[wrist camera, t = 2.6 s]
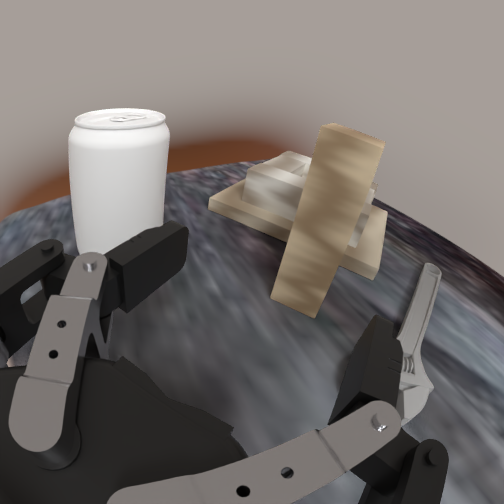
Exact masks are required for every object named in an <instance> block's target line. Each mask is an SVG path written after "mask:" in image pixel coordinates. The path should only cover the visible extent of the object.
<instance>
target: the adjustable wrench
mask: <svg viewBox="0 0 504 504" xmlns="http://www.w3.org/2000/svg"><path fill="white" fill-rule="evenodd" d="M441 275H442V272H441V271H440V269H439V268H438V267H437V266H435V265H433V264H431V263H426V264H425V265H424V267H423V269H422V271H421V274H420V277H419V280H418V283H417V286H416V288H415V291H414V294H413V297H412V300H411V302H410V305H409V308H408V310H407V313H406V315H405V318H404V320H403V323H402V325H401V328H400V330H399V333H398V335H397V337H396V339H398V340H400V342H401V346H402V349H403V352H404V353H403V362H402V371H401V374H400V375H401V378H400V385H399V392H398V398H397V404H396V410H397V412H398V413H399V415H400V418H401V426H403V425H404V424H406V423H407V422H408V421H410V420H411V419H412V418H413V417H414V416H416V415H417V414H418V413H419V412H420V411H421V410H422V408H423V407H424V405H425V404H426V401H427V398H428V394H429V393H430V392H431V391H432V390H433V389H434V387H433V384H432V383H431V382H430V381H429V379H428V377H427V375H426V373H425V370H424V367H423V364H422V361H421V356H420V348H421V343H422V340H423V338H424V335H425V332H426V328H427V325H428V322H429V319H430V316H431V312H432V309H433V306H434V302H435V298H436V295H437V291H438V287H439V283H440V279H441Z"/></svg>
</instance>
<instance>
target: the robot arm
mask: <svg viewBox="0 0 504 504" xmlns="http://www.w3.org/2000/svg"><path fill="white" fill-rule="evenodd" d="M188 234H189V230H188V228H187V227H185V226H183V225H181V224H179V223H177V222H174V221H169V222H167V223H165V224H164V225H162V226H160V227H154V228H150V229H146V230H144V231H142V232H140V233H139V234H137V235H136V236H134V237H132V238H130V239H129V240H127V241H125V242H123V243H122V244H120V245H118V246H117V247H115V248H113V249H112V250H110V251H108V252H107V253H105V254H101V253H97V252H87V253H83V254H81V255H79V256H77V257H74V256H71V255H68V254H65V253H64V249H63V244H62V243H61V242H60V241H58V240H54V239H49V240H44V241H42V242H40V243H38V244H36V245H35V246H33V247H32V248H30V249H28V250H27V251H25V252H24V253H22V254H20V255H19V256H17V257H16V258H14V259H13V260H11V261H10V262H8V263H7V264H5V265H4V266H2V267H1V268H0V504H291V503H293V502H295V501H297V500H299V499H301V498H303V497H304V496H306V495H308V494H310V493H312V492H314V491H316V490H317V489H319V488H321V487H323V486H325V485H326V484H328V483H330V482H331V481H333V480H335V479H336V478H338V477H340V476H341V475H343V474H344V473H346V472H347V471H348V470H350V471H351V472H353V473H354V474H355V475H357V476H358V477H359V478H361V479H362V480H363V481H365V482H366V486H365V488H364V491H363V493H362V496H361V498H360V500H359V503H358V504H440V501H441V497H442V493H443V488H444V484H445V479H446V474H447V469H448V462H449V457H448V453H447V450H446V448H445V447H444V445H443V444H442V443H440V442H439V441H437V440H434V439H427V440H424V441H423V442H421V443H419V442H418V441H417V440H415V439H414V438H413V437H411V436H410V435H409V434H407V433H406V432H405V431H404V430H403V429H402V428H401V418H400V415H399V413H398V412H397V410H396V404H397V398H398V392H399V385H400V378H401V375H400V374H401V371H402V362H403V353H404V352H403V349H402V346H401V342H400V340H398V339H396V338H393V337H392V335H393V327H394V323H393V322H392V321H389V320H387V319H385V318H383V317H381V316H378V315H375V316H374V317H373V319H372V320H371V322H370V323H369V325H368V327H367V328H366V330H365V331H364V333H363V334H362V336H361V337H360V339H359V340H358V342H357V344H356V345H355V347H354V349H353V352H352V354H351V357H350V360H349V364H348V367H347V370H346V373H345V376H344V379H343V382H342V385H341V388H340V391H339V394H338V397H337V400H336V403H335V406H334V408H333V411H332V414H331V417H330V419H329V422H328V424H327V425H329V426H328V427H326V428H324V429H322V430H317V429H315V430H312V431H310V432H307V433H305V434H303V435H301V436H299V437H297V438H294V439H292V440H290V441H288V442H285V443H283V444H281V445H278V446H276V447H274V448H271V449H269V450H266V451H264V452H261V453H259V454H256V455H254V456H251V457H248V456H247V454H246V452H245V451H244V449H243V448H242V446H241V445H240V444H239V443H238V442H237V441H236V440H235V439H234V438H233V437H232V436H231V432H232V430H233V428H234V427H232V426H230V425H228V424H226V423H225V422H223V421H221V420H219V419H217V418H216V417H214V416H212V415H210V414H209V413H207V412H205V411H203V410H200V409H197V408H194V407H191V406H188V405H185V404H183V403H180V402H177V401H174V400H171V399H169V398H168V397H167V396H166V395H165V394H164V393H163V392H162V391H161V390H160V389H159V388H158V387H157V385H156V384H155V383H154V382H153V381H152V380H151V379H150V377H149V376H148V375H147V374H146V373H145V372H143V371H142V370H140V369H139V368H138V367H136V366H135V365H134V364H132V363H131V362H130V361H128V360H127V359H126V358H124V357H123V356H122V357H121V358H120V359H119V360H118V361H117V362H114V361H111V360H109V344H110V337H111V331H112V325H113V319H114V310H115V309H116V308H117V307H119V308H120V309H122V310H123V311H125V312H126V313H128V312H129V311H131V310H132V309H133V308H134V307H135V306H137V305H138V304H139V303H140V302H142V301H143V300H144V299H145V298H146V297H148V296H149V295H150V294H151V293H153V292H154V291H155V290H156V289H158V288H159V287H160V286H161V285H163V284H164V283H165V282H166V281H168V280H169V279H170V278H171V277H173V276H174V275H175V274H176V273H178V272H179V271H180V270H181V269H182V267H183V266H184V264H185V261H186V254H187V244H188ZM39 280H40V282H41V285H42V290H41V291H39V292H38V293H37V294H35V295H34V296H33V297H31V298H30V299H29V300H27V301H26V302H25V303H24V304H21V301H20V298H21V295H22V293H23V292H24V291H25V290H26V289H28V288H29V287H30V286H32V285H33V284H35V283H36V282H37V281H39ZM35 335H36V337H35V340H34V344H33V347H32V350H31V353H30V357H29V360H28V364H27V365H26V366H16V367H8V365H7V364H6V363H7V361H8V359H9V358H10V357H11V356H12V355H13V354H14V353H15V352H16V351H18V350H19V349H20V348H21V347H22V346H23V345H24V344H25V343H27V342H28V341H29V340H30V339H31V338H32V337H34V336H35Z"/></svg>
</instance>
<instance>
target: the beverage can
mask: <svg viewBox="0 0 504 504" xmlns="http://www.w3.org/2000/svg"><path fill="white" fill-rule="evenodd" d="M165 119H166V118H165V115H164V114H162V113H160V112H156V111H152V110H145V109H132V108H119V109H105V110H98V111H92V112H88V113H85V114H82V115H79V116H78V117H76V118H75V126H74V127H73V129H72V130H71V132H70V134H69V139H68V147H69V174H70V188H71V200H72V210H73V219H74V227H75V235H76V242H77V248H78V251H79V254H80V255H81V254H83V253H87V252H97V253H101V254H105V253H107V252H108V251H110V250H112V249H113V248H115V247H117V246H118V245H120V244H122V243H123V242H125V241H127V240H129V239H130V238H132V237H134V236H136V235H137V234H139V233H140V232H142V231H144V230H146V229H150V228H154V227H160V226H162V225H163V214H164V197H165V183H166V170H167V159H168V149H169V138H170V133H169V129H168V127H167V125H166V124H165V122H164V121H165Z"/></svg>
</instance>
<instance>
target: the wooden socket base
mask: <svg viewBox="0 0 504 504" xmlns="http://www.w3.org/2000/svg"><path fill="white" fill-rule="evenodd" d="M311 160H312V158H309V157H306V156H303V155H300V154H298V153H295V152H292V151H287V152H285V153H282V154H281V155H280V156H278V157H276V158H273V159H271V160H269V161H267V162H264V163H260V164H257V165H255V166H253V167H251V168H249V169H248V171H247V176H246V179H244V180H242V181H240V182H238V183H236V184H234V185H232V186H231V187H229V188H227V189H225V190H223V191H221V192H219V193H217V194H216V195H214V196H212V197H210V198H209V205H208V210H211V211H213V212H216V213H218V214H221V215H223V216H225V217H228V218H230V219H233V220H235V221H237V222H240V223H242V224H244V225H247V226H249V227H251V228H254V229H256V230H259V231H261V232H263V233H266V234H268V235H270V236H273V237H275V238H277V239H280V240H282V241H284V242H288V239H289V235H290V232H291V229H292V226H293V222H294V219H295V216H296V212H297V209H298V205H299V202H300V199H301V195H302V192H303V188H304V185H305V181H306V178H307V174H308V171H309V167H310V164H311ZM377 186H378V184H376V183H374V182H372V184H371V187H370V189H369V192H368V195H367V197H366V200H365V203H364V205H363V208H362V210H361V213H360V216H359V218H358V221H357V223H356V226H355V228H354V231H353V233H352V236H351V238H350V241H349V243H348V245H347V248H346V250H345V252H344V255H343V257H342V260H341V262H340V264H339V266H341V267H344V268H346V269H348V270H350V271H353V272H355V273H357V274H359V275H361V276H364V277H366V278H368V279H370V280H374V278H375V276H376V274H377V272H378V270H379V265H380V260H381V254H382V248H383V241H384V234H385V227H386V220H387V211H385V210H382V209H380V208H378V207H375V206H373V205H371V203H372V200H373V198H374V195H375V193H376V189H377Z"/></svg>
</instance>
